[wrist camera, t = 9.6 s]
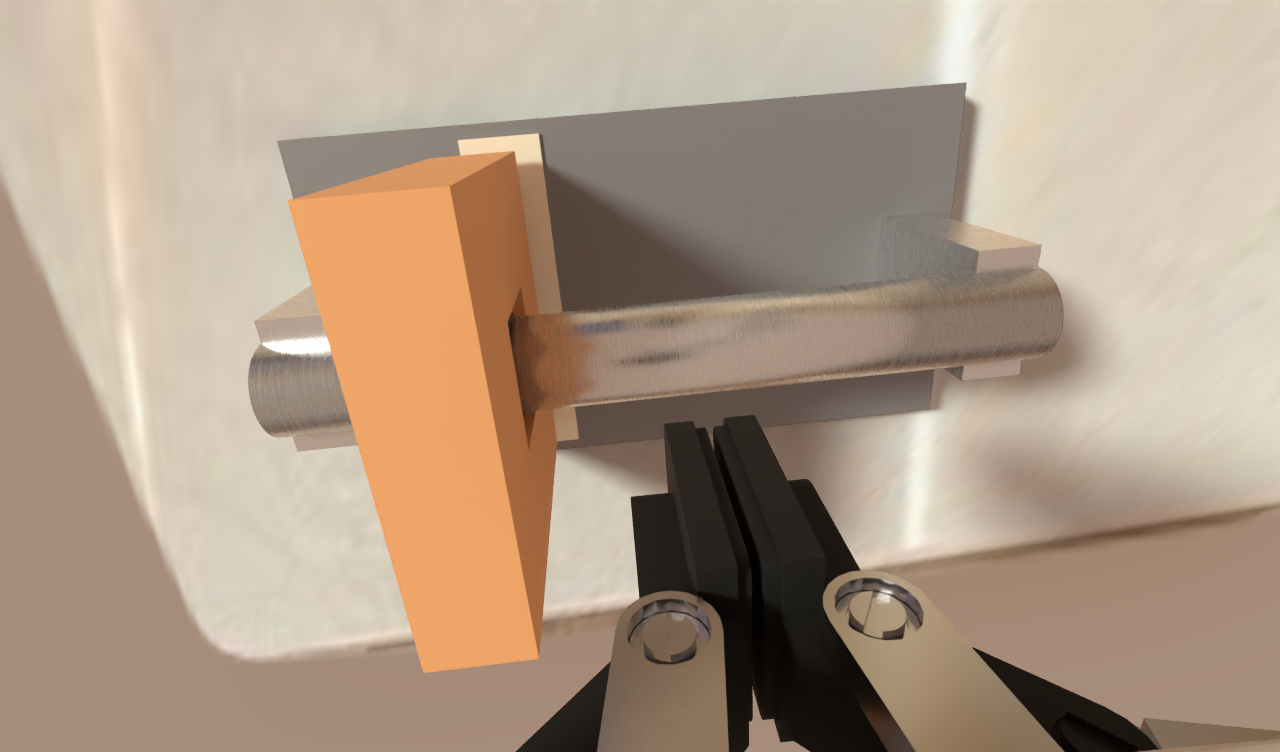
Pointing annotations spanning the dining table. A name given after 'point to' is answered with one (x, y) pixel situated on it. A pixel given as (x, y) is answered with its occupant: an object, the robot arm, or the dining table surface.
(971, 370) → the pipe
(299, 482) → the dining table surface
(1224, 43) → the dining table surface
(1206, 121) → the dining table surface
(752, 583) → the robot arm
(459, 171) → the collar
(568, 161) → the base board
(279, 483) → the dining table surface
